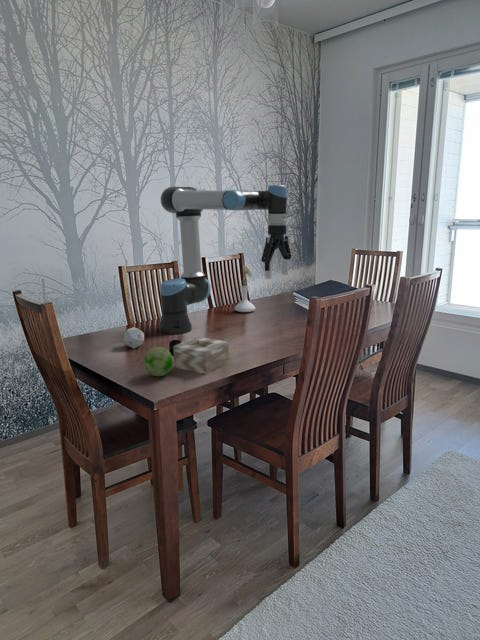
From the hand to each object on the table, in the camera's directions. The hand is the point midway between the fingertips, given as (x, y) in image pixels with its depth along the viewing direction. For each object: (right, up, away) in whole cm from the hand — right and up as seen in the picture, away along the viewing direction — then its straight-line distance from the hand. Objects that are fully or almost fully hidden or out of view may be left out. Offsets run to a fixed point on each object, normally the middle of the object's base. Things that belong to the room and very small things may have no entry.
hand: (276, 276), depth 193 cm
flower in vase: (-13, -13, +61) cm, 63 cm away
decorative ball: (-43, -37, -35) cm, 67 cm away
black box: (-41, -31, -9) cm, 52 cm away
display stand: (-29, -34, -25) cm, 52 cm away
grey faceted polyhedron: (-59, -29, -2) cm, 66 cm away
